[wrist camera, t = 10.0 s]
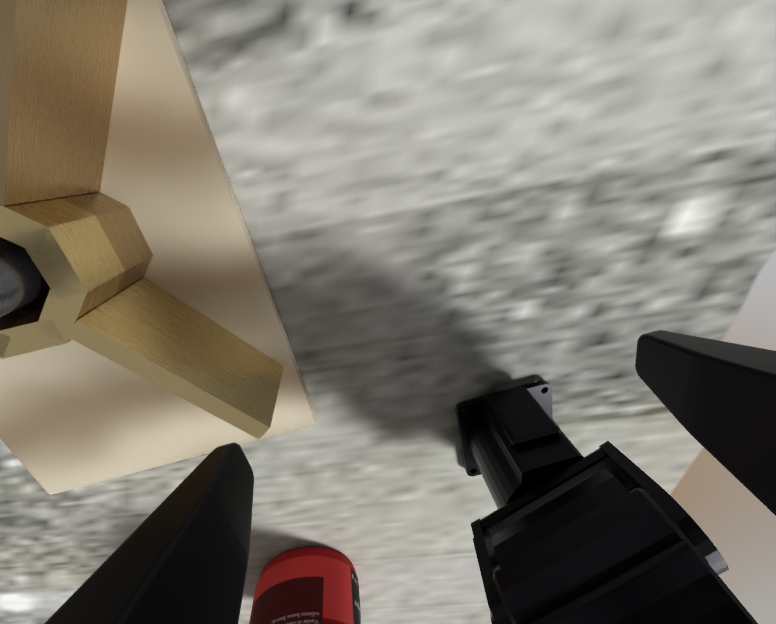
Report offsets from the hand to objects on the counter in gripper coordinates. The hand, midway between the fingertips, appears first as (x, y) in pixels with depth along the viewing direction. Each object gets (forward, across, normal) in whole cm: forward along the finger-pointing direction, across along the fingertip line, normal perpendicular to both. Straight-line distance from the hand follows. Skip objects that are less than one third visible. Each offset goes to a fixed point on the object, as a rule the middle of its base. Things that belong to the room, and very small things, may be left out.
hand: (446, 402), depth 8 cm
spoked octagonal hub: (+12, +11, -4) cm, 17 cm away
